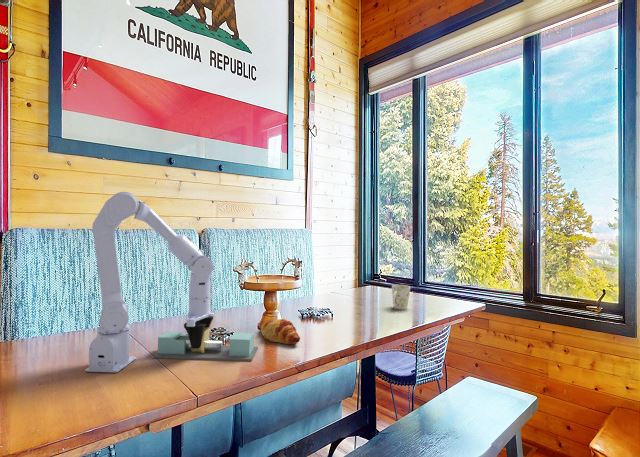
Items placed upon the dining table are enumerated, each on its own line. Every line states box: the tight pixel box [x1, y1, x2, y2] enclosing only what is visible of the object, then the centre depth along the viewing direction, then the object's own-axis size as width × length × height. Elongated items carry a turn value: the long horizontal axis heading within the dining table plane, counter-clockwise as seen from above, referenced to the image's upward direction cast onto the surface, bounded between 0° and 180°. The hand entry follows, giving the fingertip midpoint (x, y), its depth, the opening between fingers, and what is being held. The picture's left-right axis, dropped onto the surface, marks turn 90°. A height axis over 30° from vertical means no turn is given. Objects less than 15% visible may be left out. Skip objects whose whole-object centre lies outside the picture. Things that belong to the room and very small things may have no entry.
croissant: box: [260, 318, 301, 345], centre depth 121 cm, size 21×10×8 cm, turn 40°
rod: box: [175, 327, 224, 353], centre depth 105 cm, size 16×5×6 cm, turn 90°
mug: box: [391, 284, 411, 311], centre depth 168 cm, size 8×13×10 cm, turn 148°
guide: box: [153, 330, 259, 362], centre depth 105 cm, size 26×10×5 cm, turn 90°
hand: (198, 345), depth 105 cm, fingers closed on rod, 4 cm apart
